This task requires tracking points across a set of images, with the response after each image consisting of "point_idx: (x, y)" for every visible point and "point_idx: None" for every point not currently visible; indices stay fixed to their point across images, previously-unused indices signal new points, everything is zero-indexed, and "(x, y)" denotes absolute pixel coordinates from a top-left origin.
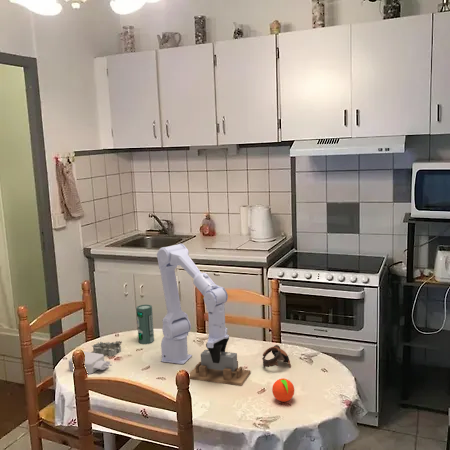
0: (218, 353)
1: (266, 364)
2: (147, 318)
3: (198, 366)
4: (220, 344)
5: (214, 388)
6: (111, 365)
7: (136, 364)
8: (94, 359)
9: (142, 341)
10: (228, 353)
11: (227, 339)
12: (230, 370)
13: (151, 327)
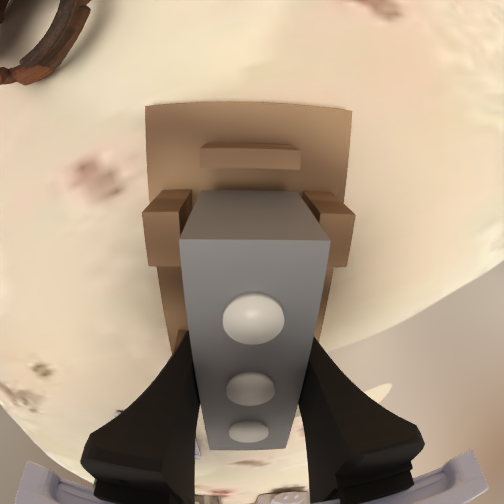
0: (361, 392)
1: (74, 26)
2: None
3: None
4: (359, 467)
5: (389, 251)
6: (287, 495)
7: (238, 475)
8: None
9: None
10: (242, 322)
11: (157, 466)
12: (340, 212)
13: None
